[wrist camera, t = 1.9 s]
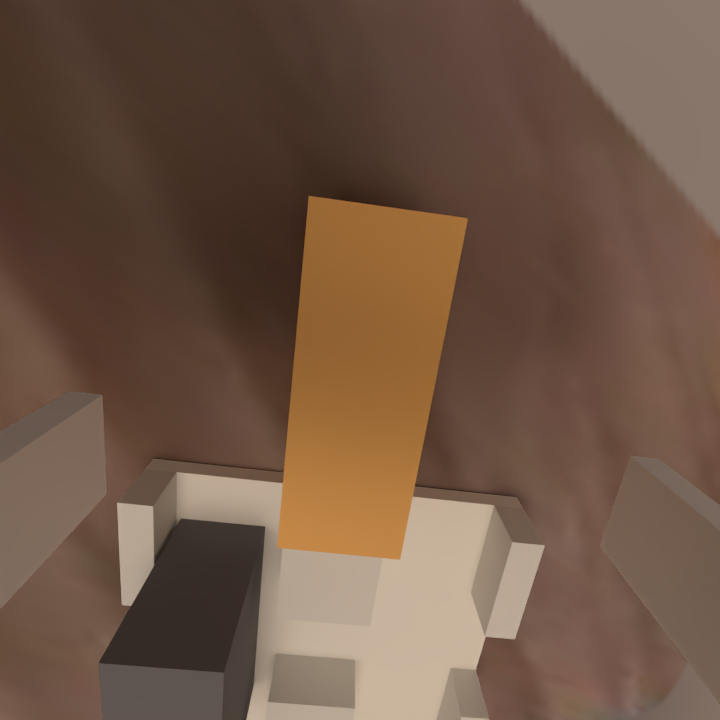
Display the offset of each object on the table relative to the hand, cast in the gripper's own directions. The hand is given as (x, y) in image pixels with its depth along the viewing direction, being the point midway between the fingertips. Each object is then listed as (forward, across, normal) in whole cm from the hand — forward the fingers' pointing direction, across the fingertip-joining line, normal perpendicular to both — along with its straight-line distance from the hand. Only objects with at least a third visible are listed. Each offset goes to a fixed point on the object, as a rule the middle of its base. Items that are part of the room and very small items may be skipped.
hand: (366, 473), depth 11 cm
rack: (+12, 0, -16) cm, 20 cm away
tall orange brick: (+11, 0, +1) cm, 11 cm away
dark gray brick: (+10, -6, -16) cm, 20 cm away
